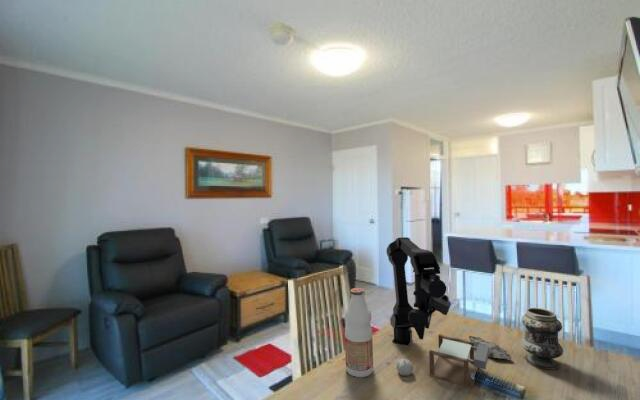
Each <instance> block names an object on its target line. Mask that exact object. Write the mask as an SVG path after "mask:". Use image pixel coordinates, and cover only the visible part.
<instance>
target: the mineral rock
mask: <svg viewBox="0 0 640 400" xmlns="http://www.w3.org/2000/svg"><path fill="white" fill-rule="evenodd" d="M468 338H469V341H474V346H475V347H477V346H478V344H479V345H484V346H488V347H489V355H488V358H495V359H503V360H508V361H509V360H512V356H511V355H510V353H508V352H507V351H506V349H503V348H501V347H500V346H499V345H498V344H497V343H494V342H490V341H487V340H485V339H484V338H481V337H479V336H473V335H469V336H468ZM475 350H476V349H474V351H475Z"/></svg>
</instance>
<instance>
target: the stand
mask: <svg viewBox="0 0 640 400" xmlns="http://www.w3.org/2000/svg"><path fill="white" fill-rule="evenodd" d="M437 339H438V349H439V348H440V346H441V344H442V342H443V340H444V339H446V340H450V341H455V342H460V343H464V344H469V345H471V346H474V341H470V340H468V339H463V338H458V337H454V336H449V335H446V334H445V335H444V334H441V333H440V334H438V338H437ZM428 353H429V355H428V357H429V361H428V362H429V366H428V367H429V376H430V377H434V378H438V379H440V380H441V379H442V380H443V381H447V382H450V383H454V384H458V385H461V386H465V387H469V388H472V389H474V386H475V382H476V379H475V380H473V379H472V378H471V373H473V372H477V373H478V370H479V368H478V367H474V363H471V362H468V359H472V360H474V357H475V349H471V350H470V353H469V358H468V359H465V358H460V357H456V356H452V355H448V354H444V353H440V352H438V351H435V350H431V349H430V350H429V352H428ZM435 356H436V357H437V359H436V361H435Z"/></svg>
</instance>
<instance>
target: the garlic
mask: <svg viewBox="0 0 640 400" xmlns="http://www.w3.org/2000/svg"><path fill="white" fill-rule="evenodd" d="M413 366H414V365H413V363H412V362H411V361H410V360H409V359H406V358H400V359H398V361H397V362H396V369H397V372H398V373H399V374H400V375H401V376H409V375H411V374H412V372H413V370H414V367H413Z"/></svg>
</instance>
